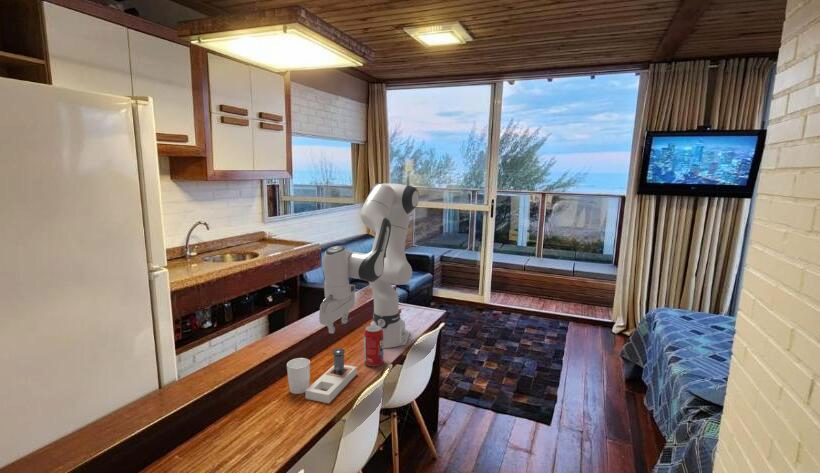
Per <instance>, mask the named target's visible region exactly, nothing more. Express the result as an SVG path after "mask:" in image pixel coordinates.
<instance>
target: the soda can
mask: <svg viewBox="0 0 820 473" xmlns="http://www.w3.org/2000/svg"><path fill="white" fill-rule="evenodd" d="M384 349H385V348H383V330H382V328H381V327H380V326H378V325H371V324H370V325H368V326H366V327H365V329H364V331H363V362H364V364H365V365H366V366H370V367H378V366H380V365H382V364H383V363H384V358H385V357H384V355H385V354H384Z"/></svg>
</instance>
